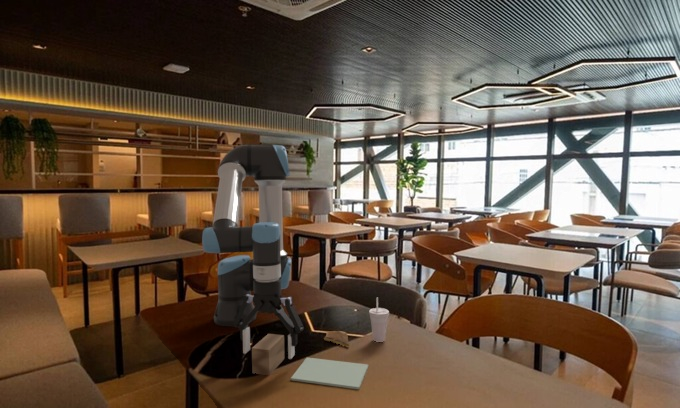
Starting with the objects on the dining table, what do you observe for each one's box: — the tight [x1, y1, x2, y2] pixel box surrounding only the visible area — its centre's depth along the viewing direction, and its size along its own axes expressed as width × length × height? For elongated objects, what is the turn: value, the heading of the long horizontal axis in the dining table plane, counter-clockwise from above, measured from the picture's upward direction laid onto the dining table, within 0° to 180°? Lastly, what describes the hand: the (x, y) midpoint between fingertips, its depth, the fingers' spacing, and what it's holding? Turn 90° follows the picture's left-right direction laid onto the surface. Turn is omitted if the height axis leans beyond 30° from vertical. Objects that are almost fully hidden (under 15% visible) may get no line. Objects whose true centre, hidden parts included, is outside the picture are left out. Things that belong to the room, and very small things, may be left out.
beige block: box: [251, 333, 285, 376], centre depth 108 cm, size 5×10×7 cm, turn 165°
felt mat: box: [290, 356, 369, 390], centre depth 103 cm, size 18×12×1 cm, turn 75°
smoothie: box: [368, 297, 390, 343], centre depth 124 cm, size 6×6×14 cm
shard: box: [323, 330, 350, 347], centre depth 124 cm, size 11×8×2 cm
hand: (268, 354), depth 108 cm, fingers open, 13 cm apart
